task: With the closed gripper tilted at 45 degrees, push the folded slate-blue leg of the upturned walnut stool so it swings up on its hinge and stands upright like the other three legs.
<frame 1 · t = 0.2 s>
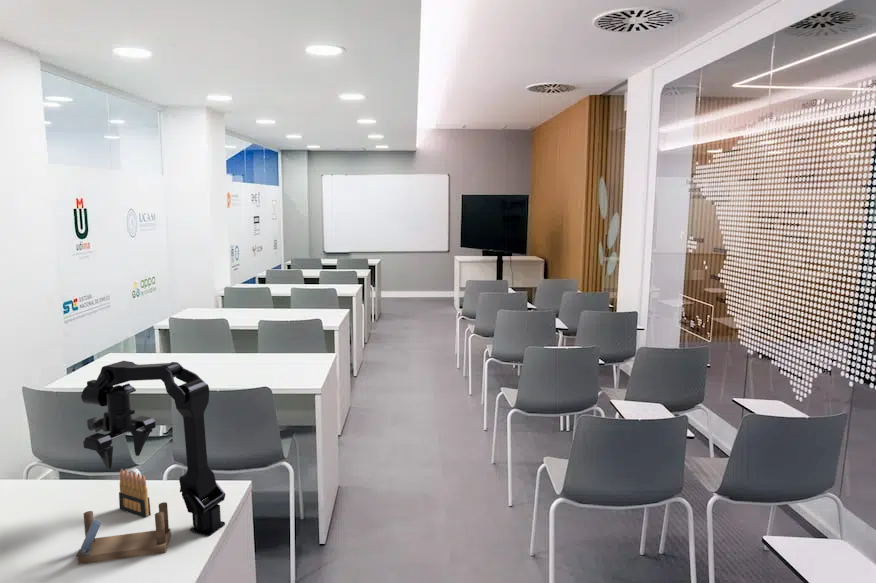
hand: (123, 462, 165), 14 cm above the table, tool pointing down, fingers open, 9 cm apart
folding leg: (90, 536, 143), point 6 cm above the table, hinge at -25.0°
stool: (126, 549, 148), on the table
ammunition clip: (135, 512, 166), on the table
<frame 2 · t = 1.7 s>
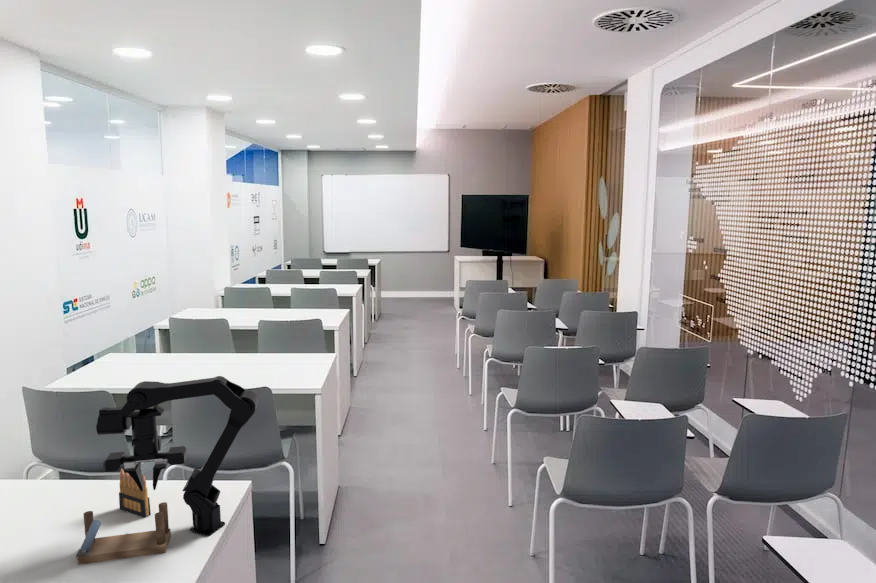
hand: (148, 489, 154), 12 cm above the table, tool pointing down, fingers open, 3 cm apart
nothing on the table moved.
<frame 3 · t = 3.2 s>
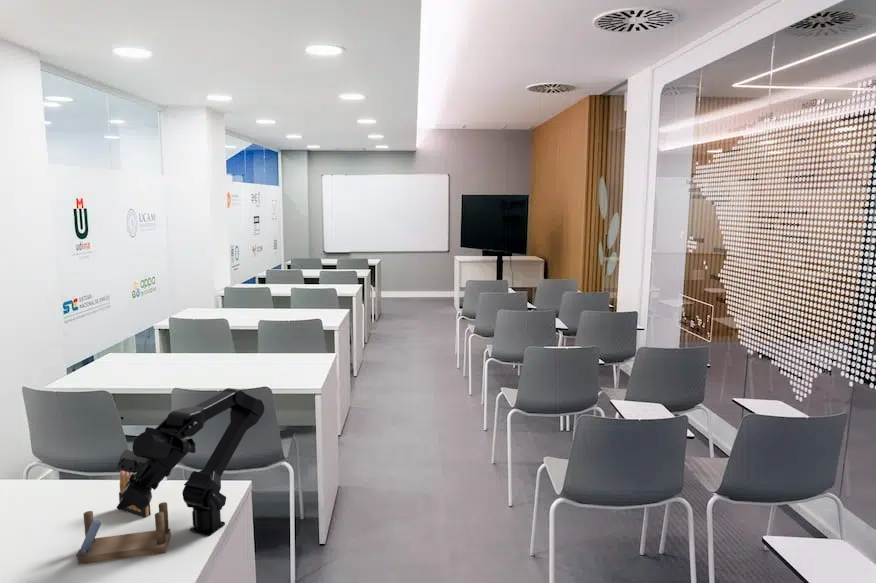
hand: (118, 508, 144), 12 cm above the table, tool tilted 45°, fingers closed
nothing on the table moved.
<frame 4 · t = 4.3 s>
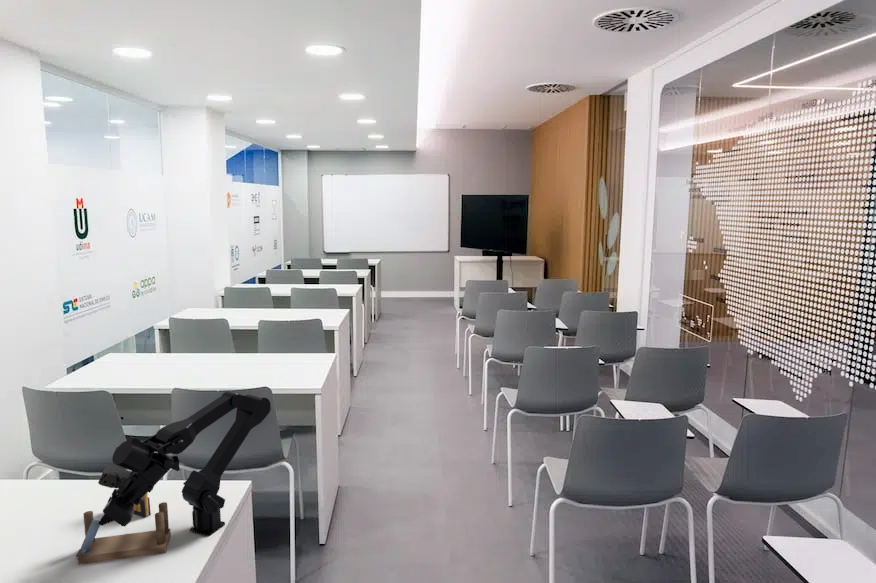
hand: (100, 523, 143), 9 cm above the table, tool tilted 45°, fingers closed, pressing on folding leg
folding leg: (90, 536, 143), point 6 cm above the table, hinge at -24.2°, touching gripper
everything else where it was.
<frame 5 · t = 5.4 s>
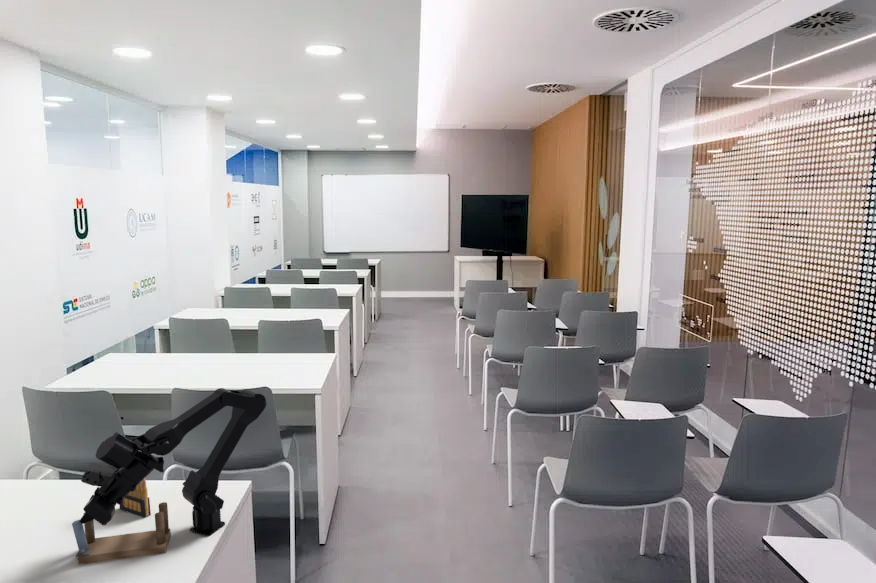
hand: (81, 521, 142), 10 cm above the table, tool tilted 50°, fingers closed, pressing on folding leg
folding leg: (80, 536, 142), point 6 cm above the table, hinge at 8.2°, touching gripper
everything else where it was.
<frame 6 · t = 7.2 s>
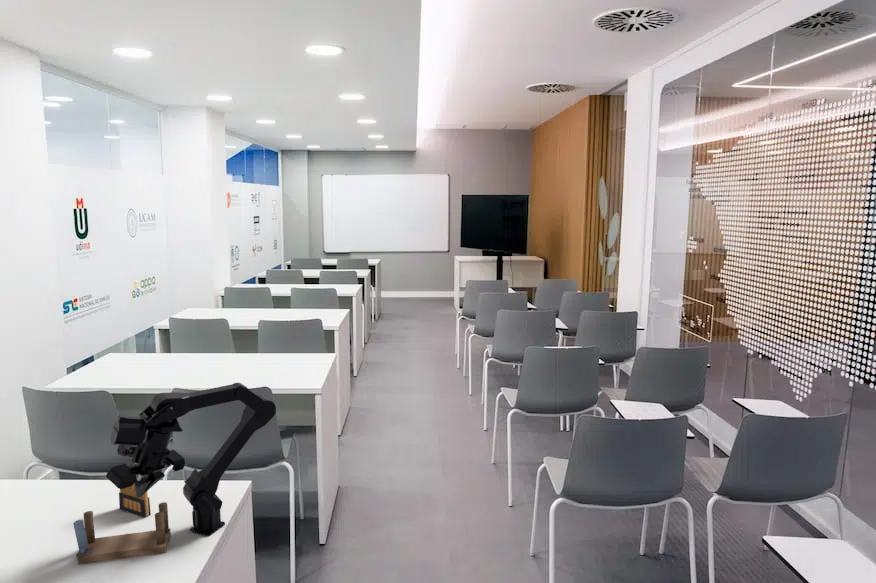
hand: (138, 496, 151), 12 cm above the table, tool tilted 20°, fingers closed
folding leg: (81, 536, 142), point 6 cm above the table, hinge at 5.8°
everything else where it was.
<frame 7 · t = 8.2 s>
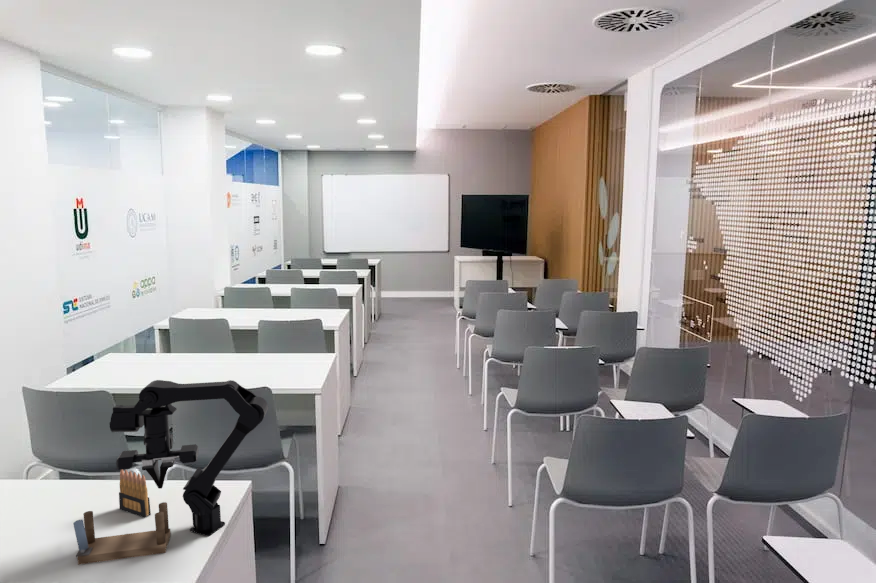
hand: (160, 487, 155), 12 cm above the table, tool pointing down, fingers closed
nothing on the table moved.
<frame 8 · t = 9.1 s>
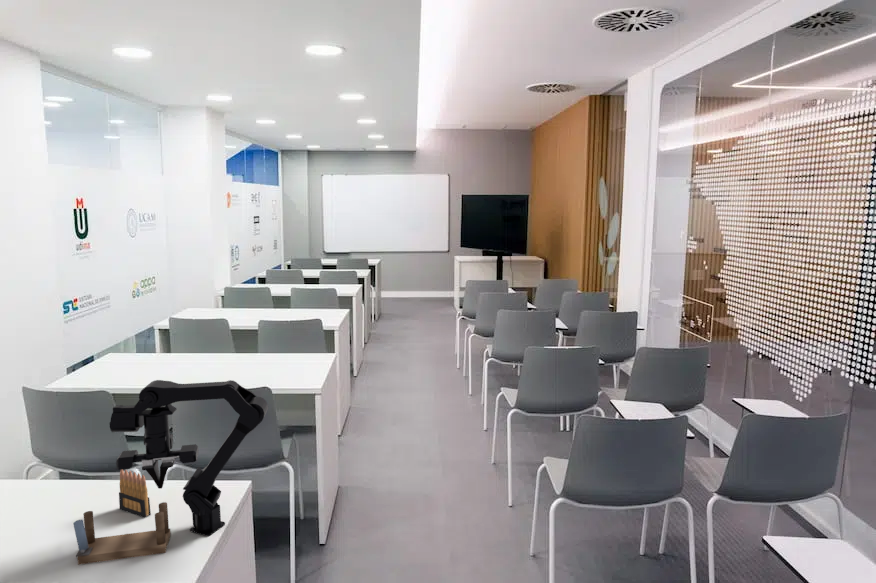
hand: (160, 487, 155), 12 cm above the table, tool pointing down, fingers closed
nothing on the table moved.
at the end: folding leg at +6° (first picture: -25°); ammunition clip moved 0.3 cm from its start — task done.
